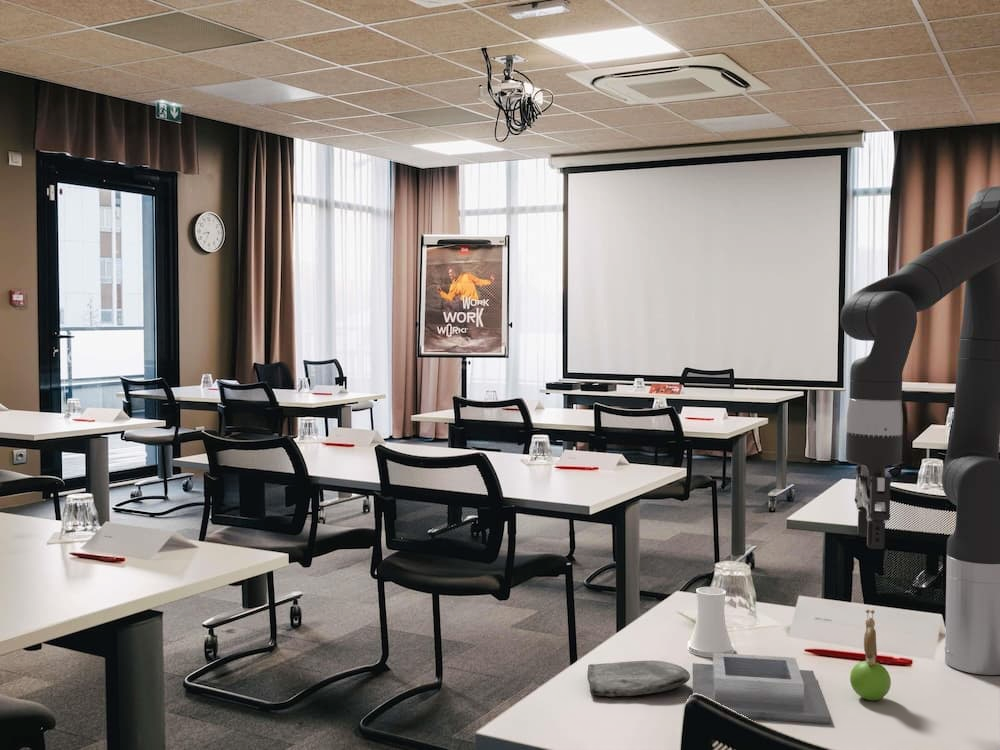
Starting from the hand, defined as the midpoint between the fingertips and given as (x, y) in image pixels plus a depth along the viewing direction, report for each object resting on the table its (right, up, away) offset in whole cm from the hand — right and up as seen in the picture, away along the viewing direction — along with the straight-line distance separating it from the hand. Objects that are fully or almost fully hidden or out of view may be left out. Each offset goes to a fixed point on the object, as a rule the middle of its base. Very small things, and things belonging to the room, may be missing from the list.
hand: (870, 542), depth 138 cm
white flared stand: (-19, -22, +20) cm, 35 cm away
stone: (-33, -23, +4) cm, 40 cm away
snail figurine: (0, -22, -1) cm, 22 cm away
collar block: (-16, -22, 0) cm, 28 cm away
